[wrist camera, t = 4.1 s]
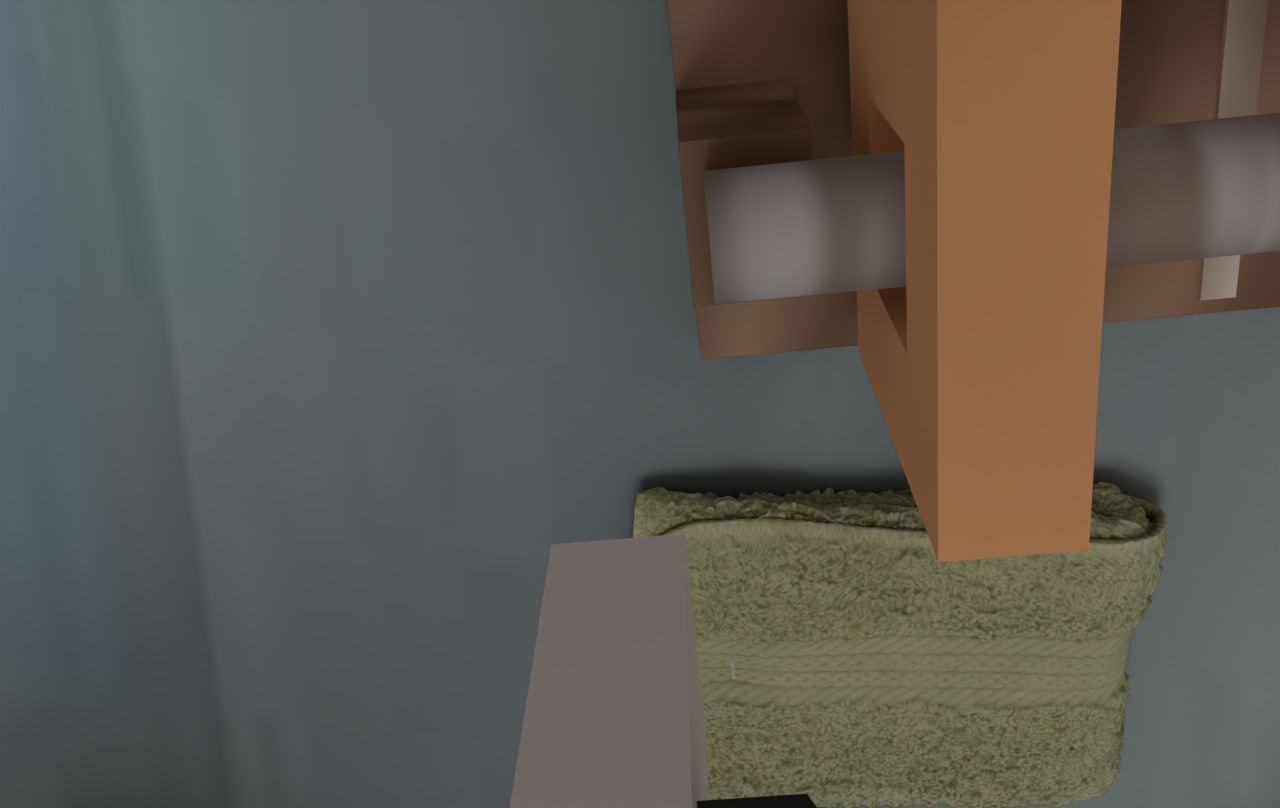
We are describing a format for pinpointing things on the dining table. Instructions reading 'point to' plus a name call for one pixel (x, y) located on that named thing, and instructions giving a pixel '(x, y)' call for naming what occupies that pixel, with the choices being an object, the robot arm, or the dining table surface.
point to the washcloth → (906, 650)
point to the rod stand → (875, 183)
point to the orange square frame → (991, 258)
